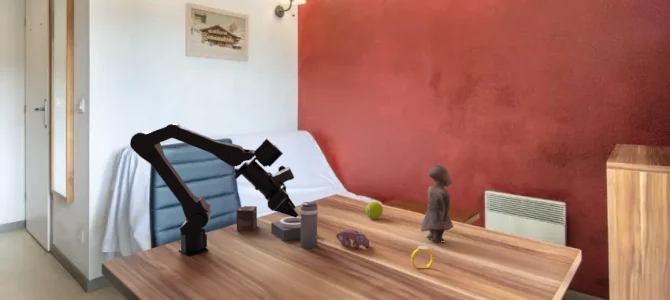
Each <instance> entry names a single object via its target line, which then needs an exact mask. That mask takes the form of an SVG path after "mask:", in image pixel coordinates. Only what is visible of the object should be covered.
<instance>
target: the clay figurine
mask: <svg viewBox="0 0 670 300" xmlns="http://www.w3.org/2000/svg"><path fill="white" fill-rule="evenodd" d="M428 176H429V177H430V178H431V179H432V180H433V182H434V183H433V185H430V186H428V188H427V204H426V205H427V210H426V213H425V216H424V218H423V221H422V223H421V227H420V232H422V233H423V232H426V231H429V234H428V235H427V236H426V237H425V238H426V239H429V240H430V242H431V243H435V242H436V243H442V242H441V241H445V239H444V238H443V235H444V233H445V231H449V230H451V229H453V228H454V224H453V222H452V220H451V217H450V214H449V211H450V209H451V203H450V202H451V201H450V200H451V193H450V192H449V191H448V190H447V189H446V188H445V187H447V188H448V187H449V186H450V185H452V180H451V174H450V173H449V170H448V169H447V168H446V167H445V166H443V165H433V166H432V167H431V168H430V169H429V171H428Z"/></svg>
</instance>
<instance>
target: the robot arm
mask: <svg viewBox="0 0 670 300" xmlns="http://www.w3.org/2000/svg"><path fill="white" fill-rule="evenodd" d="M170 139H174V140H177V141H179V142H182V143H183V144H187V145H189V146H193V147H194V148H196V149H199V150H202V151H204V152H207V153H210V154H212V155H214V156H215V157H217V158H218V159H219V160H221V161H222V162H224V163H225V164H227V165H229V166H230V167H238V166H240V167H239V168H234V170H233V171H234V179H238V178H239V177H240V176H242V177H243V178H245V180H247V181H248V182H249V183H250V185H252V186H253V187H254V190H256V191H259V192H260V194H261V195H263V196H264V199H265V200H266V201H267V207H268V209H270V211H272V212H273V211H274V212H278V213H280V214H284V215H287V216H288V217H295V218H296V217H299V213H298V212H297V210H296V208H297V207H296V206H295V204H294V202H293V201H292V199H291V198H290V196H289V194H288V192H287V186H286V185H285V183H286V182H288V181H292V180H294V179H295V175H294V174H293V172H292V170H291V167H290V166H286V167H285V166H284V165H280V166H278V171H275V173H271V172H269V171H267V170H266V169H265V167H267V166H268V167H272V165H273V164H274V163H275V162H276V161H278V159H279V158H281V156H282V155H283V154H284V153H283V152H282V151H281V150H280V149H279V147H277V145H276V144H274V143H273V142H271V141H270V140H269V139H268V138H264V140H263V141H262V142H261V144H260V145H258V147H257V148H256V149H254V150H253V149H247V148H246V149H245V148H244V147H243V146H241V145H239V144H235V143H230V142H225V141H219V140H216V139H213V138H211V137H208V136H206V135H203V134H201V133H199V132H196V131H193V130H191V129H188V128H186V127H185V126H184V127H183V126H181V125H180V124H179V123H175V122H174V123H169V124H167V125H166V126H164V127H161V128H159V129H156V130H153V131H148V130H146V131H145V130H144V131H140V132H137V133H135V134H133V135H132V136H131V138H130V142H129V144H130V145H129V146H130V149H132V151H134V152H135V153H136V155H138V156H139V157H140V158H141V159H143V160H144V161H146V162H147V163H148V164H149V165H151V166H152V168H153V169H154V170H155V172H156V173H157V174H158V176H159V177H160V178H161V179H162V181H163V183H164V184H165V185H166V187H168V190H170V192H171V193H172V195H174V197H175V199H177V202H179V203H180V205H181V208H182V212H183V215H184V217H185V218H186V219H185V220H184V222H182V225H180V228H179V232H180V248H178V251H179V252H180V253H182V254H184V255H186V256H188V257H189V256H193V255H198V254H202V253H206V252H208V251H209V248H207V247H208V234H207V233H206V229H205V228H204V227H206V226H207V225H208V222H209V221H210V218H211V216H212V210H211V205H210V204H209V203H208V202H207V200H206V199H205V196H204V195H201V197H200V198H199V197H197V196H196V195H195V194H194V193H193V192H192V191H191V189H190V188H189V187H188V185H187V184H186V183H185V182H184V180H183V179H182V177H181V175H180V174H179V173H178V172H177V170H176V169H175V167H173V165H172V164H171V162H170V161H169V160H168V158H167V157H166V155H165V153H164V150H163V146H162V143H163V142H165V141H166V142H167V140H170ZM248 161H249V162H248ZM263 167H264V168H263Z"/></svg>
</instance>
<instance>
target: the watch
mask: <svg viewBox="0 0 670 300" xmlns="http://www.w3.org/2000/svg"><path fill="white" fill-rule="evenodd" d="M419 252H422V253H423V252H428V253H429V255H430V261H429V262H428V263H427V264H426V265H425V266H427V267H425V268H428V269H430V268H431V267H432V266H433V263H434V261H435V260H434V259H435V258H434V255H433V252H432V251H431V250H430V249H429V247H427V246H425V245H418V246H417V248H416V249H414V250H413V252H412V253H411V256H410V261H411V263H412V265H413V267H414V268H415V269H417V268H418V267H417V266H418V265H416V264H415V262H414V259H415V256H416V255H417V253H419ZM423 268H424V267H423Z"/></svg>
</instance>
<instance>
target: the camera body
mask: <svg viewBox="0 0 670 300" xmlns="http://www.w3.org/2000/svg"><path fill="white" fill-rule="evenodd" d="M270 225H271V227H270V229H271V232H270V233H272V234H273V235H274V236H276V237H277V238H278V239H280V240H282V241H283V242H286V241H292V240H297V239H300V227H301V216H297V217H296V218H295V217H292V216H287V217H282V218H280V220H279V221H272V222H271V224H270Z"/></svg>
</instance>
